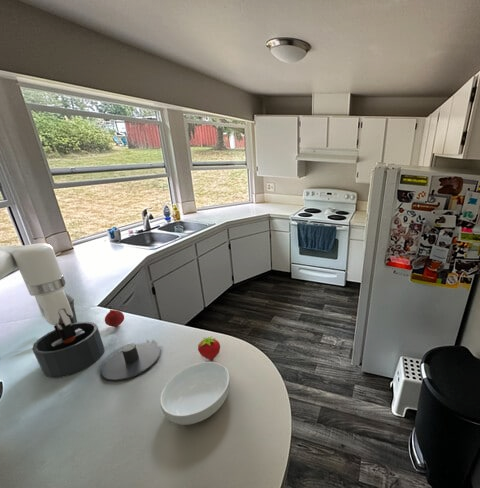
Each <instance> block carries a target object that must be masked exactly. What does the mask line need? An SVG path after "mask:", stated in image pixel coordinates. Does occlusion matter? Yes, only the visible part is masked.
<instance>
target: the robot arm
mask: <svg viewBox="0 0 480 488" xmlns="http://www.w3.org/2000/svg"><path fill="white" fill-rule="evenodd" d="M17 270H19V272H20V275H21V278H22V279H23V282H24V284H25V286H26V288H27V291H28V293H29V295H30V296H32V297H34V298H35V301H36V304H37V306H38V309H39V312H40V315H41V317H42V318H43V319H44V320H45V321H46V322H47V323H48V324H50V325H51V326H53V328H54V330H56V333H57V335H58V336H61V338H62V340H67V339H69V338H71V337H73V336H75V335H76V332H75V330H74V327H73V325H72V323H71V320H70V318H72V317H73V313H72V310H71V307H70V304H69V302H68V300H67V297H66V295H65V293H66V292H65V291H64V289H65V288H66V287H67V283H66V280H65V278H64V275H63V272H62V269H61V266H60V264H59V261H58V258H57V256H56V253H55V250H54V247H53V246H52V245H50V244H48V243H45V242H44V243H43V242H39V243H31V244H25V245H24V244H23V245H16V244H13V245H11V244H9V245H8V244H3V245H2V244H1V245H0V280H2V279H4V278H5V277H6V276H7V275H9V274H10V273H12V272H15V271H17ZM69 317H70V318H69ZM61 322H63V323H62V324H61ZM56 324H57V325H58V327H59V330H58V329H57V326H56Z"/></svg>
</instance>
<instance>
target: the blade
mask: <svg viewBox="0 0 480 488" xmlns="http://www.w3.org/2000/svg"><path fill="white" fill-rule="evenodd" d="M62 323H63V322H61V324H62ZM56 326H57V329H58V330H59V327H58V325H57V324H56ZM75 332H76V335H75V336H73V337H71V338H69V339H67V340H62V338H61V339H59V340H57V341H55V342H53V343H52V344H51V345H52V346H53V347H55V346H57V345H59V344H61V343H70V342H72V341H74V340H75V337H77V336H79V335H81V334H83V333H85V332H84V331H82V329H77V330H75Z"/></svg>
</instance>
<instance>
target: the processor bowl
mask: <svg viewBox="0 0 480 488" xmlns="http://www.w3.org/2000/svg"><path fill="white" fill-rule="evenodd" d="M72 325H73V327H74V330H77V329H82V331H84V332H85V333H83V334H81V335H79V336H77V337H75V340H74V341H72V342H70V343H61V344H59V345H57V346H55V347H53V346H52V345H51V344H52V343H53V342H55V341H57V340H59V339H61V336H58V335H57V333H56V330H55V329H53V330H51V331H49V332H47V333H46V334H44V335H42V336H41V337H39V338H38V339H37V340H36V341H35V342H34V343H33V345H32V348H31V350H32V352H33V354H34V356H35V358H36V361H37V363H38V366H39V367H40V369H41V372H42V373H43V375H44V377H47V378H50V379H58V378H59V379H60V378H63V376H65V377H68V376H71V375H74V374H77V373H79V372H82V371H83V370H85V369H87V368H89V367H91V366H92V365H93V364H95V363H96V362H97V361H99V359H101V357H102V356H103V355H104V352H105V345H104V342H103V340H102V336H101V334H100V329H99V327H98V325H97V324H96V323H95V322H92V321H79V322H78V321H77V323H74V324H72ZM67 375H68V376H67Z"/></svg>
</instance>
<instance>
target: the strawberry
mask: <svg viewBox="0 0 480 488" xmlns="http://www.w3.org/2000/svg"><path fill="white" fill-rule="evenodd" d="M220 350H221V344H220V341H219V340H217V338H215V337H214V338H213V336H212V335H211V336H210V337H209V336H208V337H206V336H205V337H202V340H200V342H198V345H197V351H198V353H199V354H200V356H202V357H203V358H205V359H207V360H209V361H213V360H214V359H215V358H216V357H217V356H218V354H219V353H220V352H221V351H220Z"/></svg>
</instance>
